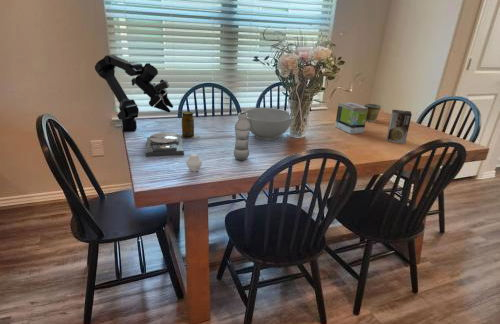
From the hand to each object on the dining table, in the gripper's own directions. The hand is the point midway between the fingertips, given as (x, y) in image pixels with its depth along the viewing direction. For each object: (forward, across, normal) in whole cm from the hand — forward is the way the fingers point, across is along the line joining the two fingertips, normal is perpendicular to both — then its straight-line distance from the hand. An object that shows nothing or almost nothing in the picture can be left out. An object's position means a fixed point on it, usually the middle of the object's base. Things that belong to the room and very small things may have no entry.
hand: (171, 109), depth 160 cm
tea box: (+80, +16, -60) cm, 101 cm away
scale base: (+9, -18, +10) cm, 23 cm away
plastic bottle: (+34, -30, -14) cm, 47 cm away
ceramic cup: (+95, +38, -75) cm, 127 cm away
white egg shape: (+20, -43, 0) cm, 47 cm away
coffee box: (+93, -3, -73) cm, 118 cm away
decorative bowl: (+44, +1, -24) cm, 51 cm away
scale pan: (+6, -15, +8) cm, 18 cm away
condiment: (+16, 0, +4) cm, 16 cm away
